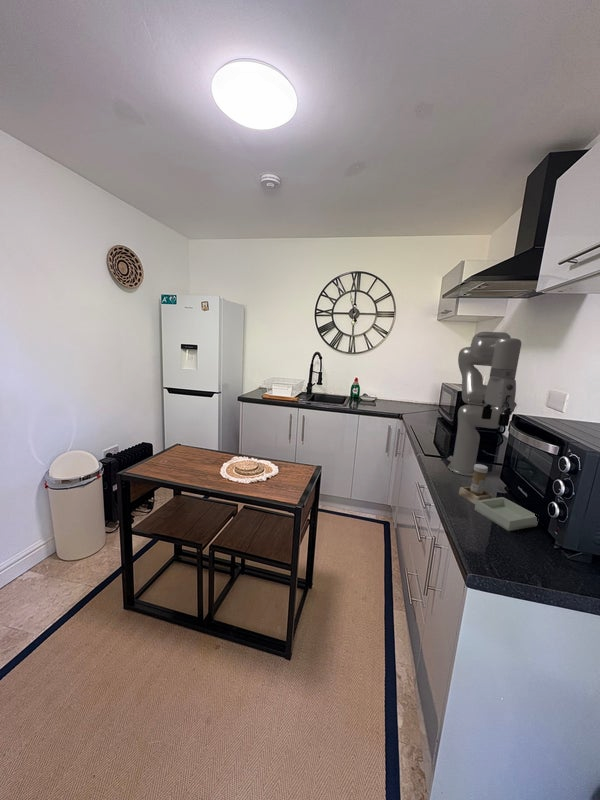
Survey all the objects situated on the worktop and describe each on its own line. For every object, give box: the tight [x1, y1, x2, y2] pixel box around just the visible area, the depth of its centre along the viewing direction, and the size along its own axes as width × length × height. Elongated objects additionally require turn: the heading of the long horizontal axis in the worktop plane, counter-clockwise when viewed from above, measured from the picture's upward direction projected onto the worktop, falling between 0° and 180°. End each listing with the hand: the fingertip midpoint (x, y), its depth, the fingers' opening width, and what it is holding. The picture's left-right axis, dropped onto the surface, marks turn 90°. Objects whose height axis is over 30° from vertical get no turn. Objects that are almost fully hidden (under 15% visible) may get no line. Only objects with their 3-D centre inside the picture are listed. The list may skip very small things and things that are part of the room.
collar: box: [458, 485, 495, 505], centre depth 119 cm, size 8×8×3 cm
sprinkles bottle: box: [470, 463, 489, 496], centre depth 118 cm, size 5×5×13 cm
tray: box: [474, 496, 539, 532], centre depth 107 cm, size 13×13×4 cm
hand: (494, 422), depth 110 cm, fingers open, 9 cm apart
